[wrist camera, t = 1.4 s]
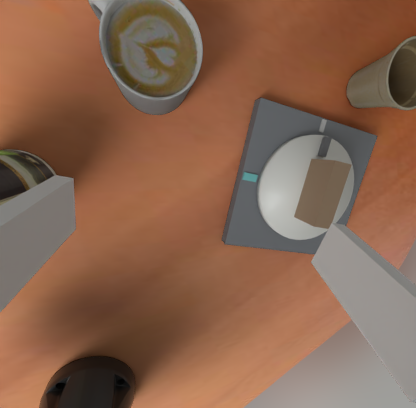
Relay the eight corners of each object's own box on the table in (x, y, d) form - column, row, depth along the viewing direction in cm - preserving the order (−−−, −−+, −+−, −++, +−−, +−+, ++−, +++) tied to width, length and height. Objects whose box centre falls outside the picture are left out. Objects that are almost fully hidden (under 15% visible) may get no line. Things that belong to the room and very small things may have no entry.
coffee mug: (201, 91, 33) (220, 68, 23) (146, 128, 32) (143, 119, 23) (145, -7, 28) (141, -84, 19) (81, 34, 28) (43, -25, 18)
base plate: (327, 252, 46) (336, 257, 44) (221, 239, 39) (225, 244, 37) (367, 136, 42) (379, 135, 39) (255, 100, 35) (261, 97, 33)
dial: (328, 241, 43) (358, 257, 36) (245, 230, 38) (263, 246, 32) (360, 148, 39) (398, 148, 33) (273, 122, 34) (299, 117, 28)
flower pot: (342, 125, 40) (390, 119, 32) (333, 69, 37) (384, 47, 29) (383, 107, 41) (440, 97, 33) (378, 52, 38) (439, 26, 30)
